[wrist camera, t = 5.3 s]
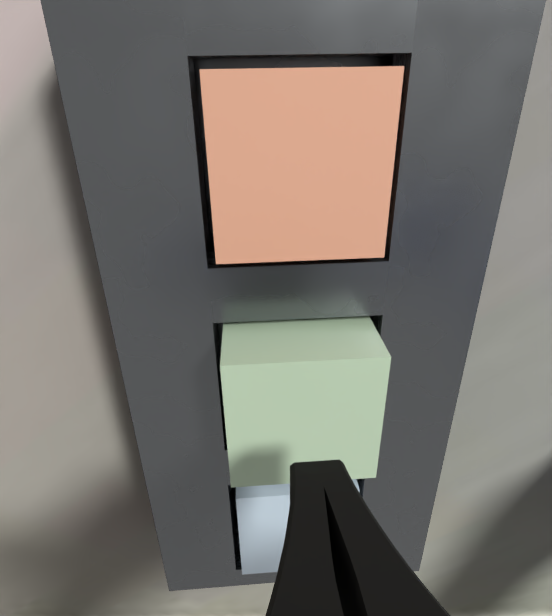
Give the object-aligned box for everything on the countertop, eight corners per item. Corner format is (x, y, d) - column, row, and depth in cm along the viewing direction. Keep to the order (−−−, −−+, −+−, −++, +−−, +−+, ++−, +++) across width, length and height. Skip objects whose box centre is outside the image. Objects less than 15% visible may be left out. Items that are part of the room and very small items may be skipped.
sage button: (365, 309, 15) (391, 356, 13) (355, 418, 18) (375, 477, 15) (223, 316, 15) (219, 365, 12) (232, 425, 17) (230, 487, 15)
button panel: (486, 11, 13) (547, -7, 11) (399, 516, 24) (418, 570, 21) (82, 14, 13) (39, -3, 10) (177, 532, 23) (169, 590, 21)
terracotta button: (372, 69, 13) (404, 65, 11) (360, 227, 16) (384, 257, 13) (207, 71, 13) (199, 69, 10) (220, 232, 15) (216, 264, 13)
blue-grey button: (344, 436, 20) (359, 489, 18) (338, 508, 23) (351, 566, 20) (236, 443, 20) (235, 498, 17) (242, 515, 22) (242, 574, 20)
